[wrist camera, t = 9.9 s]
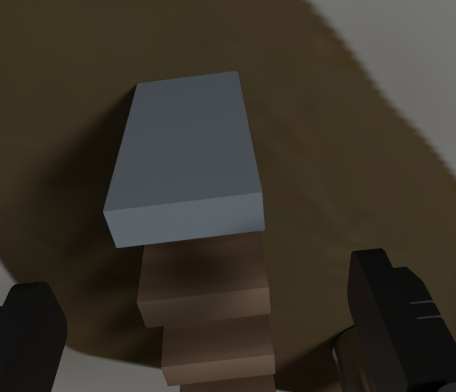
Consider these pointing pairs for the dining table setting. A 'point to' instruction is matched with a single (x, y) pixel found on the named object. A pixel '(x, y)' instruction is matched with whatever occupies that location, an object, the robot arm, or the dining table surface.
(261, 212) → the slate domino
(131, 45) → the dining table surface
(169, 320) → the walnut domino
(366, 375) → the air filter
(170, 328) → the walnut domino
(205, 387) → the walnut domino
